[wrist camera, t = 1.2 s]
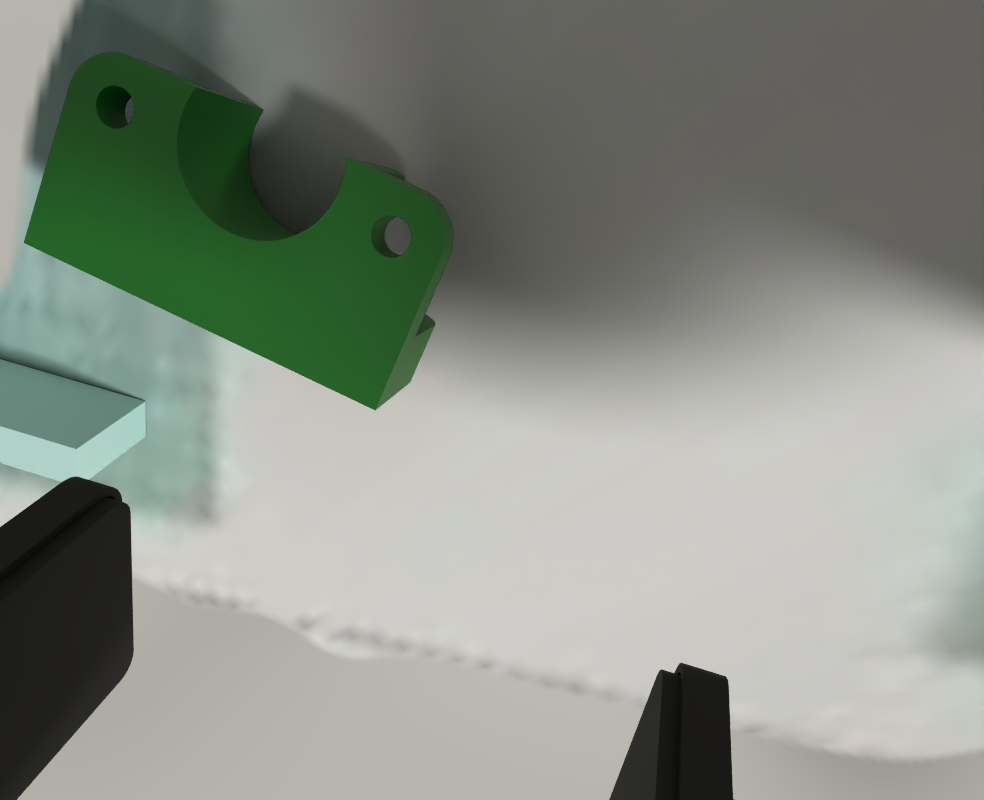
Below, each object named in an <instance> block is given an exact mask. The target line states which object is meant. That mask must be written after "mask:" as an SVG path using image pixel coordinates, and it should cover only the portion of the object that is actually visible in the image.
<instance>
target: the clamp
mask: <svg viewBox="0 0 984 800" xmlns="http://www.w3.org/2000/svg"><path fill="white" fill-rule="evenodd" d="M131 97H132V99H133V102H134V115H133V118H132V120H131V122H130V123H129V124H128V123H127V121H126V117H125V107H126V104H127V102H128V100H129V99H130V98H131ZM263 111H264V110H262V109H260V108H258V107H256V106H254V105H252V104H250V103H247V102H244V101H241V100H239V99H236V98H233V97H230V96H227V95H224V94H221V93H218V92H215V91H212V90H209V89H207V88H204V87H201V86H199V85H197V84H195V83H193V82H190V81H188V80H186V79H184V78H182V77H180V76H178V75H175V74H173V73H171V72H169V71H167V70H165V69H163V68H160V67H158V66H156V65H153V64H150V63H148V62H145V61H142V60H139V59H136V58H134V57H131V56H128V55H125V54H121V53H116V52H108V53H101V54H98V55H95V56H93V57H91V58H90V59H88V60H87V61H85V62H84V63H83V64H82V65H81V66H80V67H79V68H78V70H77V71H76V73H75V74H74V76H73V78H72V80H71V83H70V86H69V89H68V93H67V96H66V99H65V103H64V106H63V110H62V113H61V117H60V120H59V123H58V127H57V130H56V134H55V137H54V141H53V144H52V148H51V151H50V154H49V158H48V161H47V165H46V168H45V172H44V175H43V178H42V182H41V185H40V189H39V192H38V196H37V199H36V202H35V206H34V209H33V213H32V216H31V220H30V223H29V227H28V230H27V233H26V237H25V240H24V243H25V244H27V245H30V246H32V247H34V248H36V249H38V250H40V251H42V252H44V253H46V254H48V255H51V256H53V257H55V258H57V259H59V260H61V261H63V262H65V263H67V264H69V265H71V266H74V267H76V268H78V269H80V270H82V271H84V272H86V273H88V274H90V275H92V276H95V277H97V278H99V279H101V280H103V281H105V282H107V283H109V284H111V285H113V286H116V287H118V288H120V289H122V290H124V291H126V292H128V293H130V294H132V295H134V296H137V297H139V298H141V299H143V300H145V301H147V302H149V303H151V304H153V305H155V306H158V307H160V308H162V309H164V310H166V311H168V312H170V313H172V314H174V315H176V316H178V317H181V318H183V319H185V320H187V321H189V322H191V323H193V324H195V325H197V326H199V327H202V328H204V329H206V330H208V331H210V332H212V333H214V334H216V335H218V336H220V337H223V338H225V339H227V340H229V341H231V342H233V343H235V344H237V345H239V346H241V347H244V348H246V349H248V350H250V351H252V352H254V353H256V354H258V355H260V356H262V357H265V358H267V359H269V360H271V361H273V362H275V363H277V364H279V365H281V366H283V367H285V368H288V369H290V370H292V371H294V372H296V373H298V374H300V375H302V376H304V377H306V378H309V379H311V380H313V381H315V382H317V383H319V384H321V385H323V386H325V387H327V388H330V389H332V390H334V391H336V392H338V393H340V394H342V395H344V396H346V397H348V398H351V399H353V400H355V401H357V402H359V403H361V404H363V405H365V406H367V407H369V408H372V409H374V410H376V409H378V408H379V407H380V406H381V405H383V404H384V403H385V402H386V401H387V400H389V399H390V398H391V397H392V396H394V395H395V394H396V393H397V392H399V391H400V390H401V389H402V388H403V387H405V386H406V385H407V384H408V383H410V381H411V379H412V377H413V374H414V372H415V370H416V367H417V365H418V363H419V361H420V358H421V356H422V354H423V351H424V349H425V347H426V344H427V342H428V340H429V337H430V335H431V333H432V331H433V328H434V326H435V322H434V321H433V320H432V319H431V318H430V317H429V316H427V315H426V314H425V313H426V310H427V308H428V306H429V303H430V301H431V299H432V296H433V294H434V292H435V289H436V287H437V285H438V282H439V280H440V278H441V275H442V273H443V271H444V268H445V266H446V264H447V261H448V259H449V257H450V254H451V251H452V246H453V228H452V224H451V220H450V218H449V215H448V213H447V211H446V210H445V208H444V207H443V205H442V204H441V203H440V202H439V201H438V200H437V199H436V198H435V197H434V196H432V195H431V194H430V193H428V192H426V191H424V190H422V189H420V188H418V187H416V186H413V185H411V184H409V183H407V182H405V181H404V178H405V176H404V175H402V174H400V173H398V172H396V171H393V170H391V169H389V168H385V167H381V166H377V165H374V164H370V163H366V162H362V161H359V160H355V159H351V158H347V157H346V167H345V172H344V177H343V181H342V184H341V187H340V189H339V192H338V194H337V196H336V198H335V200H334V201H333V203H332V205H331V206H330V208H329V209H328V210H327V212H326V213H325V214H324V215H323V216H322V217H321V218H320V219H319V220H318V221H317V222H316V223H315V224H313V225H312V226H311V227H309V228H308V229H306V230H305V231H303V232H301V233H299V234H297V233H294V232H292V231H290V230H288V229H287V228H285V227H284V226H282V225H281V224H279V223H278V222H277V221H276V220H274V219H273V218H272V217H271V216H270V214H269V213H268V212H267V211H266V210H265V208H264V207H263V206H262V204H261V202H260V201H259V199H258V197H257V195H256V193H255V191H254V188H253V185H252V182H251V178H250V173H249V165H248V153H249V145H250V141H251V137H252V134H253V131H254V128H255V126H256V124H257V122H258V120H259V118H260V116H261V114H262V112H263ZM395 217H400V218H401V219H403V220H404V221H405V222H406V223H407V224H408V226H409V228H410V231H411V243H410V246H409V248H408V249H407V251H406V252H405V253H403V254H402V255H397V254H395V253H393V252H392V251H391V250H390V249H389V248H388V247H387V245H386V243H385V239H384V232H385V228H386V226H387V224H388V223H389V222H390V221H391V220H392V219H393V218H395Z"/></svg>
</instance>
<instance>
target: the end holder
mask: <svg viewBox="0 0 984 800" xmlns="http://www.w3.org/2000/svg"><path fill="white" fill-rule="evenodd" d="M145 436H146V417H145V401H142V400H139V399H135V398H132V397H128V396H125V395H122V394H118V393H115V392H111V391H108V390H104V389H101V388H98V387H94V386H91V385H87V384H84V383H80V382H77V381H74V380H70V379H67V378H63V377H60V376H56V375H53V374H50V373H46V372H43V371H39V370H36V369H33V368H29V367H26V366H22V365H19V364H15V363H12V362H9V361H5V360H2V359H0V463H3V464H6V465H9V466H12V467H15V468H19V469H22V470H25V471H28V472H32V473H35V474H38V475H41V476H45V477H48V478H51V479H54V480H57V481H61V482H63V481H64V480H66V479H68V478H70V477H76V476H78V477H81V478H84V479H87V480H89V479H90V478H91V477H93V476H94V475H95V474H97V473H98V472H99V471H101V470H102V469H103V468H105V467H106V466H107V465H108V464H110V463H111V462H112V461H114V460H115V459H116V458H118V457H119V456H120V455H122V454H123V453H124V452H126V451H127V450H128V449H130V448H131V447H132V446H134V445H135V444H136V443H137V442H139V441H140V440H141V439H143V438H144V437H145Z"/></svg>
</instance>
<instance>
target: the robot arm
mask: <svg viewBox="0 0 984 800" xmlns="http://www.w3.org/2000/svg"><path fill="white" fill-rule="evenodd" d="M133 650H134V648H133V604H132V559H131V515H130V508H129V506H128V504H126V503H124V502H122V497H121V494H120V492H119V491H118V490H117V489H115V488H113V487H110V486H107V485H103V484H100V483H97V482H94V481H90V480H87V479H84V478H81V477H78V476H76V477H70V478H68V479H66V480H64V481H63V482H62V483H60V484H59V485H57V486H56V487H55V488H53V489H52V490H51V491H49V492H48V493H46V494H45V495H44V496H42V497H41V498H40V499H38V500H37V501H36V502H34V503H33V504H31V505H30V506H29V507H27V508H26V509H25V510H23V511H22V512H20V513H19V514H18V515H16V516H15V517H14V518H12V519H11V520H10V521H8V522H7V523H5V524H4V525H3V526H1V527H0V800H17V799H18V797H19V796H20V795H21V794H22V793H23V792H24V790H25V789H26V788H27V787H28V786H29V785H30V784H31V783H32V781H33V780H34V779H35V778H36V777H37V776H38V775H39V773H40V772H41V771H42V770H43V769H44V768H45V767H46V765H47V764H48V763H49V762H50V761H51V759H53V757H54V756H55V755H56V754H57V753H58V752H59V751H60V749H61V748H62V747H63V746H64V745H65V744H66V742H67V741H68V740H69V739H70V738H71V737H72V736H73V734H74V733H75V732H76V731H77V730H78V729H79V728H80V726H81V725H82V724H83V723H84V722H85V721H86V720H87V718H88V717H89V716H90V715H91V714H92V713H93V712H94V710H95V709H96V708H97V707H98V706H99V705H100V704H101V702H102V701H103V700H104V699H105V698H106V696H108V694H109V693H110V692H111V691H112V690H113V689H114V688H115V686H116V685H117V684H118V683H119V682H120V681H121V679H122V678H123V677H124V675H125V674H126V672H127V670H128V668H129V666H130V664H131V661H132V657H133ZM732 789H733V788H732V762H731V736H730V710H729V686H728V680H727V678H726V676H722V675H719V674H716V673H713V672H709V671H706V670H703V669H700V668H696V667H693V666H690V665H687V664H683V663H680V664H679V665H678V667H677V669H676V671H675V673H671V672H668V671H665V670H660V671H659V673H658V675H657V677H656V680H655V682H654V685H653V688H652V690H651V693H650V695H649V698H648V701H647V703H646V706H645V708H644V711H643V714H642V716H641V719H640V721H639V724H638V727H637V729H636V732H635V734H634V737H633V740H632V742H631V745H630V747H629V750H628V753H627V755H626V758H625V761H624V763H623V766H622V768H621V771H620V774H619V776H618V779H617V781H616V784H615V787H614V789H613V792H612V794H611V797H610V800H733V790H732Z"/></svg>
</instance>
